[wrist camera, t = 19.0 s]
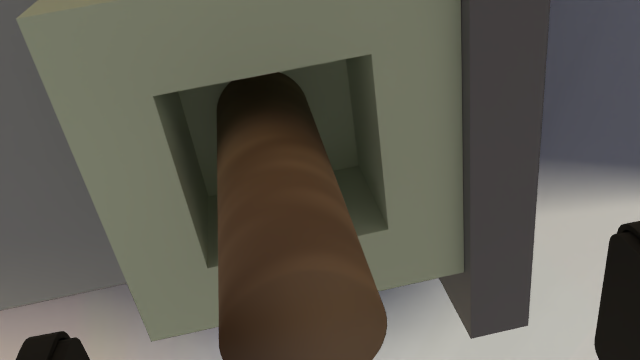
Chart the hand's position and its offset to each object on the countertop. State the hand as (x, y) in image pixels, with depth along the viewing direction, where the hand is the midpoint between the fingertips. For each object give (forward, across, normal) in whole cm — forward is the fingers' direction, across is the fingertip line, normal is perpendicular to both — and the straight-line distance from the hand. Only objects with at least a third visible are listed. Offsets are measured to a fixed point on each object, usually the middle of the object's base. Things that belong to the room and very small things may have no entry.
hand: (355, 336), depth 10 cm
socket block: (+12, +1, 0) cm, 12 cm away
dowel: (+10, +1, 0) cm, 10 cm away
